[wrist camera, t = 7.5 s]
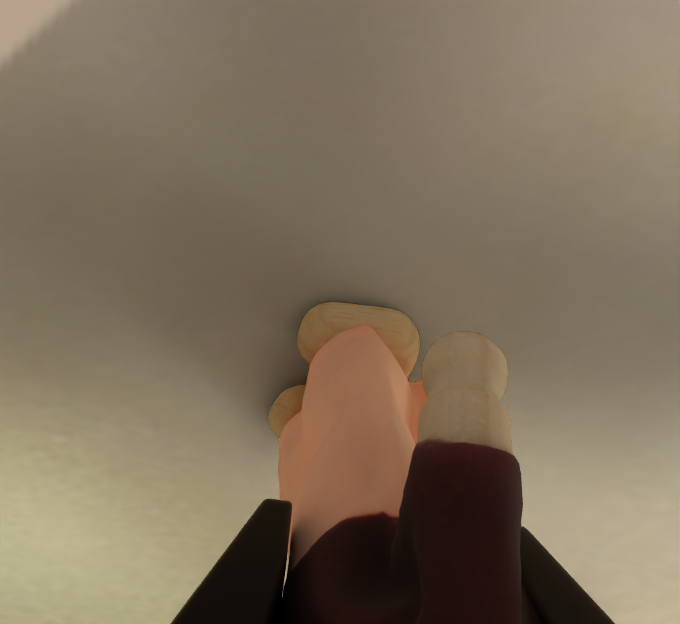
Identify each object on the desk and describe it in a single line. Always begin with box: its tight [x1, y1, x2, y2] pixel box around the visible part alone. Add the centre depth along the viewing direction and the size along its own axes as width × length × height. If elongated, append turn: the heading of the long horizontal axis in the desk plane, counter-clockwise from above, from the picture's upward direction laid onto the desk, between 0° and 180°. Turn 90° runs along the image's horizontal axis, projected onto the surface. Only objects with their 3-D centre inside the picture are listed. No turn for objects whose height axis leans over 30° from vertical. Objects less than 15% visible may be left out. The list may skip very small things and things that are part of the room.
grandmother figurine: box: [269, 302, 523, 624], centre depth 8 cm, size 8×4×13 cm, turn 169°
